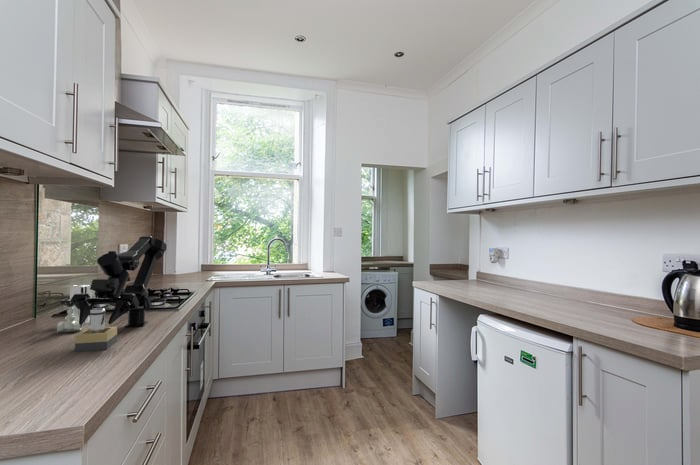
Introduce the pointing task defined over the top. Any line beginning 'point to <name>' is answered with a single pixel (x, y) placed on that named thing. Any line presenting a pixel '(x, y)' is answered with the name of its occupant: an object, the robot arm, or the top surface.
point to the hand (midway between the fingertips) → (94, 323)
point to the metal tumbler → (97, 320)
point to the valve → (68, 319)
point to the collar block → (95, 339)
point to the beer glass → (80, 290)
